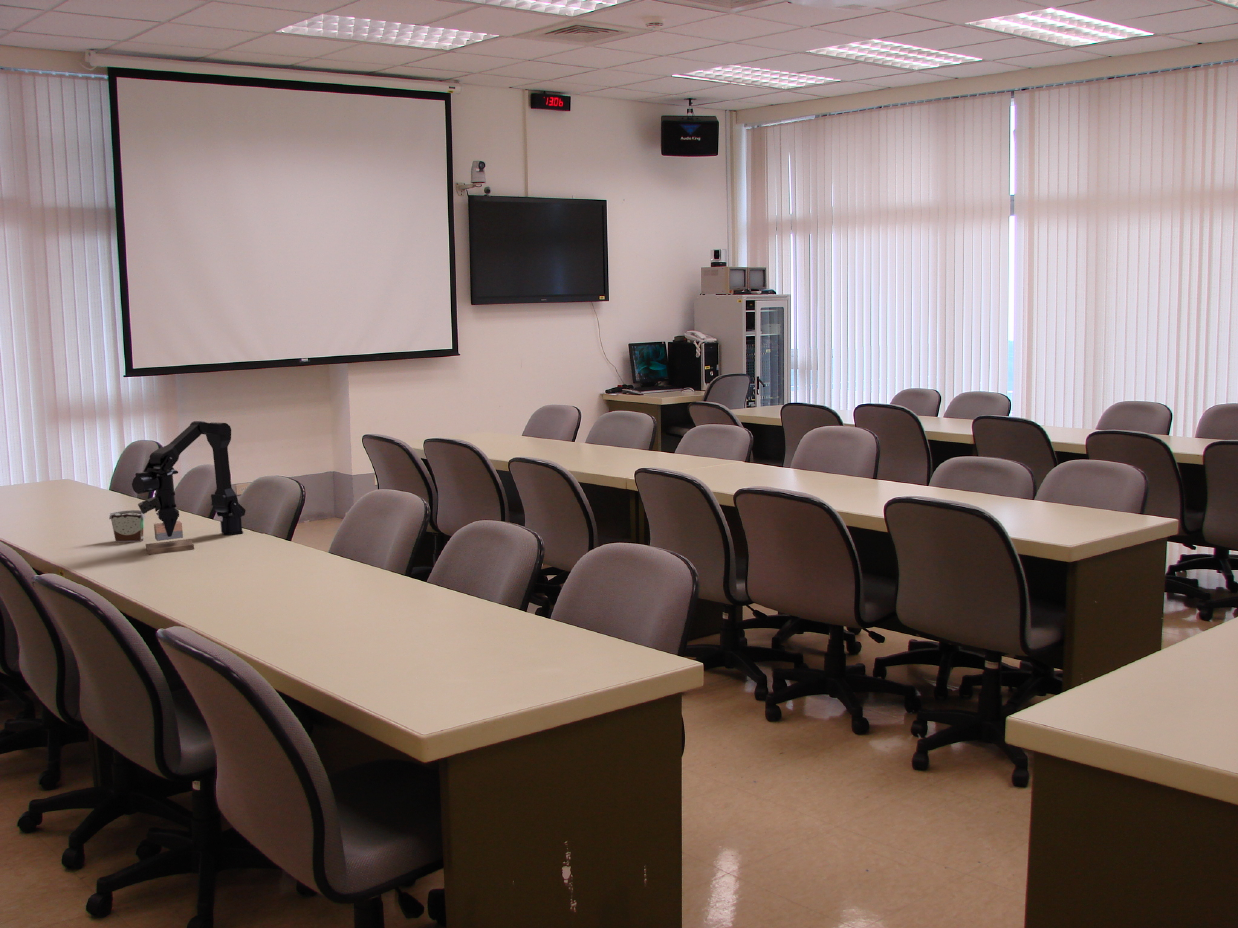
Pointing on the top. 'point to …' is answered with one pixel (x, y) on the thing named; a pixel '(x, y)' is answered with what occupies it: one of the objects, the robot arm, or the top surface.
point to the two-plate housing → (162, 534)
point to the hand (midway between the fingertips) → (168, 535)
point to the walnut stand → (169, 546)
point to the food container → (128, 525)
